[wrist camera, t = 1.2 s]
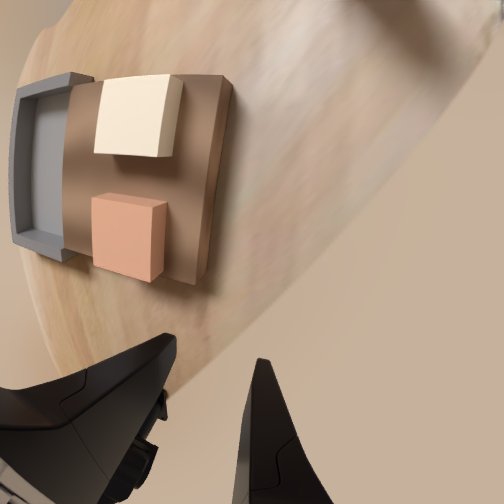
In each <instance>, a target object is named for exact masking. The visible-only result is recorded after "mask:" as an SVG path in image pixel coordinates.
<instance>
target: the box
mask: <svg viewBox="0 0 504 504" xmlns="http://www.w3.org/2000/svg"><path fill="white" fill-rule="evenodd" d="M92 81H93V77H91V76H87V75H83V74H78V73H74V72H69V73H65V74H61V75H57V76H54V77H51V78H47V79H44V80H41V81H38V82H35V83H32V84H29V85H26V86H23V87H21V88H18V89H17V91H16V97H15V103H14V109H13V116H12V124H11V134H10V147H9V208H10V221H11V231H12V240H13V243H15V244H17V245H19V246H22V247H24V248H27V249H29V250H32V251H34V252H37V253H39V254H42V255H44V256H47V257H50V258H52V259H55V260H57V261H60V262H63V261H65V260H67V259H69V258H71V257H72V256H74V255H76V254H78V253H79V252H76V251H73V250H69V249H66V248H64V238H63V221H62V168H63V151H64V139H65V129H66V121H67V114H68V107H69V101H70V95H71V89H72V86H75V85H80V84H86V83H92Z"/></svg>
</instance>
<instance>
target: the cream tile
mask: <svg viewBox="0 0 504 504" xmlns="http://www.w3.org/2000/svg"><path fill="white" fill-rule="evenodd" d="M183 83H184V81H182V80H180V79H178V78H176V77H174V76H173V75H171V74H163V75H146V76H134V77H124V78H115V79H108V80H104V84H103V89H102V95H101V100H100V106H99V113H98V120H97V128H96V136H95V146H94V153H105V154H123V155H138V156H150V157H168V156H172V153H173V145H174V138H175V131H176V124H177V118H178V111H179V105H180V100H181V94H182V89H183Z"/></svg>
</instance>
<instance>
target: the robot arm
mask: <svg viewBox="0 0 504 504" xmlns="http://www.w3.org/2000/svg"><path fill="white" fill-rule="evenodd" d="M176 353H177V339H176V336H175V335H172V334H169V333H163V334H161V335H158V336H156V337H154V338H152V339H150V340H148V341H146V342H143V343H141V344H139V345H137V346H135V347H133V348H130V349H128V350H126V351H124V352H122V353H119V354H117V355H115V356H113V357H110V358H108V359H106V360H104V361H101V362H99V363H97V364H95V365H92V366H90V367H88V368H87V369H86V368H85V369H83V370H81V371H78V372H76V373H73V374H71V375H68V376H66V377H63V378H60V379H57V380H53V381H50V382H47V383H43V384H40V385H36V386H33V387H29V388H25V389H20V390H10V389H5V388H2V387H0V504H115V503H117V502H122V501H124V500H126V499H127V498H128V497H129V496H130V494H131V492H132V491H133V489H138V488H140V487H141V485H142V484H143V483H144V481H145V480H146V478H147V476H148V474H149V472H150V470H151V467H152V464H153V461H154V459H155V456H156V453H157V450H158V448H159V447H157V446H156V445H153V444H151V443H149V442H148V441H146V438H147V436H148V434H149V433H150V431H151V429H152V427H153V425H154V423H155V422H156V420H157V418H158V419H160V420H163V421H166V420H167V418H168V416H167V406H166V395H165V391H164V390H163V387H164V384H165V382H166V379H167V377H168V375H169V372H170V370H171V368H172V365H173V363H174V361H175V358H176ZM232 504H334V503H333V502H332V500H331V499H330V497H329V495H328V494H327V492H326V490H325V489H324V487H323V485H322V484H321V482H320V480H319V479H318V477H317V475H316V474H315V472H314V470H313V468H312V466H311V465H310V463H309V461H308V459H307V457H306V454H305V453H304V450H303V448H302V445H301V443H300V440H299V437H298V436H297V433H296V430H295V427H294V425H293V422H292V419H291V417H290V414H289V412H288V409H287V406H286V403H285V400H284V398H283V396H282V392H281V390H280V387H279V384H278V382H277V379H276V376H275V373H274V371H273V368H272V365H271V362H270V361H269V360H267V359H262V358H258V359H257V361H256V365H255V370H254V373H253V377H252V381H251V385H250V389H249V393H248V397H247V401H246V405H245V409H244V413H243V418H242V425H241V434H240V442H239V450H238V459H237V467H236V475H235V484H234V491H233V499H232Z"/></svg>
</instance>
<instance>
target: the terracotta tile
mask: <svg viewBox="0 0 504 504" xmlns="http://www.w3.org/2000/svg"><path fill="white" fill-rule="evenodd" d="M166 212H167V202H165V201H159V200H153V199H147V198H141V197H134V196H128V195H121V194H115V193H106V194H102V195H98V196H95V197H92V202H91V218H92V249H93V264H94V266H97V267H101V268H104V269H107V270H110V271H113V272H116V273H120V274H123V275H126V276H130V277H133V278H136V279H140V280H143V281H147V282H152V281H153V280H154V279H155V278H156V277H157V276H158V275H159V274H161V273H162V272H163V271H164V245H165V227H166Z"/></svg>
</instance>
